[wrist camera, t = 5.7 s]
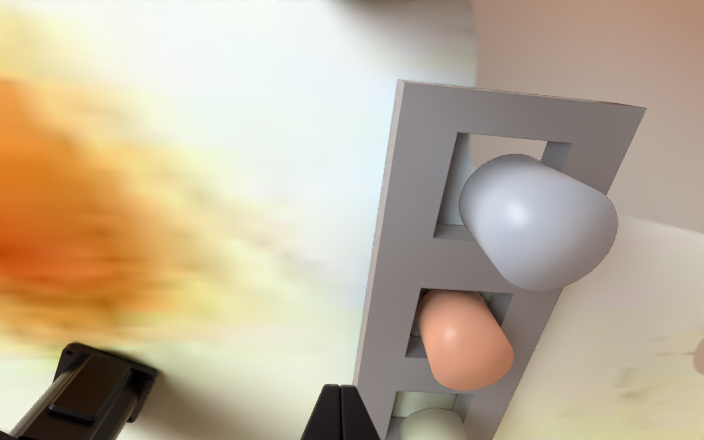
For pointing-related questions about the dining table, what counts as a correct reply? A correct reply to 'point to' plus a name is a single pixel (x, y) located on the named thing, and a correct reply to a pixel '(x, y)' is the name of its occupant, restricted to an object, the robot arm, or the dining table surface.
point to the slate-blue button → (537, 221)
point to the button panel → (464, 235)
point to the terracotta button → (462, 339)
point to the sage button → (432, 425)
